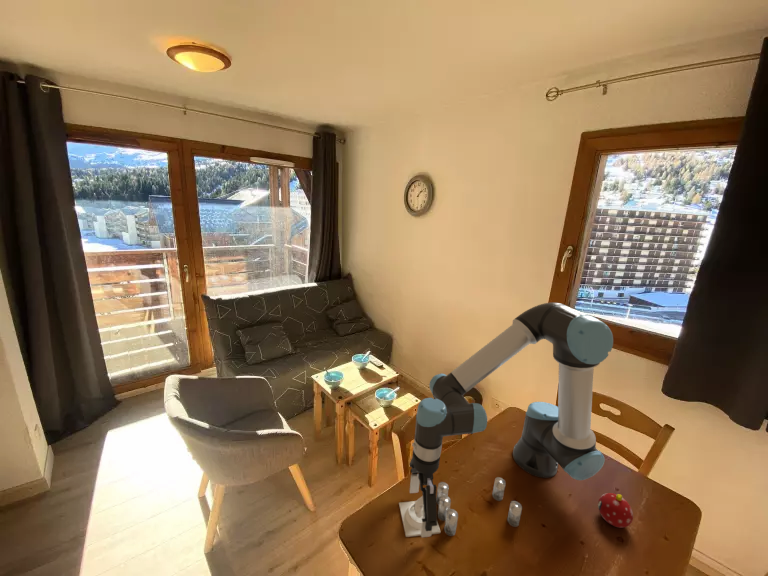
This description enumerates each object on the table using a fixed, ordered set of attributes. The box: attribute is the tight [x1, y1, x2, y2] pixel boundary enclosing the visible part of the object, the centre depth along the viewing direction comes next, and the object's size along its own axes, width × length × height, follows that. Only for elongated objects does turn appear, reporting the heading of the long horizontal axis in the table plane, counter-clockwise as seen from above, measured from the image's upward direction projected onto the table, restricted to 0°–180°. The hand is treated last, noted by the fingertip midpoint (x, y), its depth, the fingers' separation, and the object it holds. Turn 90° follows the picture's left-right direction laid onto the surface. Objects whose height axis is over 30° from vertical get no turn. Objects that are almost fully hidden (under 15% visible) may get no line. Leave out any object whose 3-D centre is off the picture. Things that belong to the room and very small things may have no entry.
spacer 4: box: [491, 476, 507, 502], centre depth 102 cm, size 3×3×6 cm
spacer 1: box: [436, 481, 449, 506], centre depth 99 cm, size 3×3×6 cm
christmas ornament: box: [597, 492, 634, 529], centre depth 95 cm, size 9×9×10 cm
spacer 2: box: [437, 495, 452, 522], centre depth 94 cm, size 3×3×6 cm
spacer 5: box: [506, 500, 523, 528], centre depth 94 cm, size 3×3×6 cm
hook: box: [406, 495, 424, 529], centre depth 92 cm, size 8×12×7 cm
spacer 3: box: [444, 508, 459, 537], centre depth 90 cm, size 3×3×6 cm
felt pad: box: [398, 500, 441, 538], centre depth 94 cm, size 10×10×1 cm
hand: (419, 512), depth 93 cm, fingers open, 13 cm apart
